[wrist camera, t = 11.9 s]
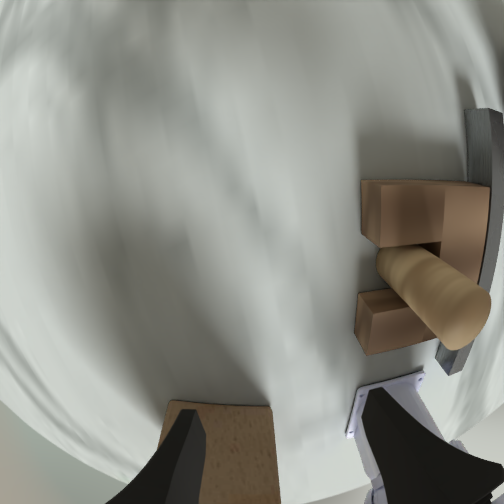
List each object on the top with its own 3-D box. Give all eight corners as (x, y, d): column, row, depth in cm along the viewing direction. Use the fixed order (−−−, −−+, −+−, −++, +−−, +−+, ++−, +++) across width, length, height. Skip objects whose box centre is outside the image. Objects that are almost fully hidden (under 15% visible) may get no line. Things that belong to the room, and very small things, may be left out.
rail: (448, 353, 23) (461, 370, 20) (435, 358, 23) (448, 375, 20) (478, 113, 15) (502, 113, 12) (464, 109, 15) (488, 108, 12)
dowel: (412, 278, 20) (479, 341, 11) (373, 283, 20) (435, 357, 11) (417, 234, 18) (497, 284, 10) (377, 237, 18) (453, 296, 10)
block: (447, 312, 21) (464, 328, 18) (354, 332, 21) (366, 355, 18) (465, 181, 17) (489, 187, 14) (361, 179, 17) (380, 185, 14)
